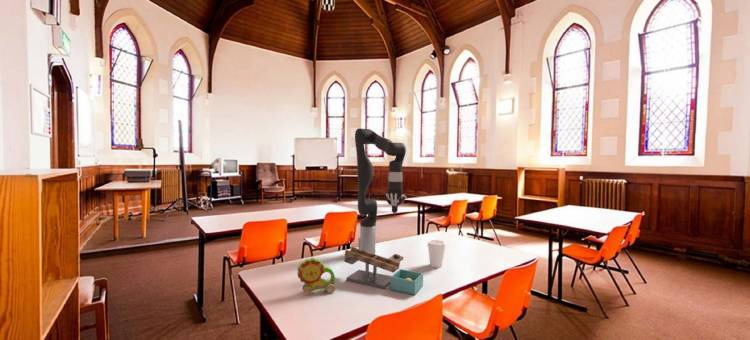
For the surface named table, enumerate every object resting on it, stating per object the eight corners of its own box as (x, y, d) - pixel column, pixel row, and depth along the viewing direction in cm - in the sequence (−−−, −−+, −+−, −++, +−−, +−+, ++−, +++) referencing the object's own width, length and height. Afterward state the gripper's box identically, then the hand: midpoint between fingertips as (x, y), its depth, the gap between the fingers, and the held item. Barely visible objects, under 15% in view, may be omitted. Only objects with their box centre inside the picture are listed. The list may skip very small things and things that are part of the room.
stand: (346, 280, 153) (346, 260, 152) (358, 272, 164) (359, 253, 163) (384, 289, 144) (385, 267, 144) (395, 280, 155) (395, 259, 154)
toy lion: (333, 288, 145) (333, 254, 144) (335, 293, 139) (335, 258, 139) (297, 291, 140) (297, 257, 140) (297, 297, 135) (297, 261, 134)
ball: (402, 279, 145) (410, 279, 143) (405, 276, 148) (413, 276, 147) (403, 288, 145) (411, 288, 143) (406, 285, 148) (414, 285, 146)
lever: (343, 261, 156) (345, 250, 156) (361, 251, 173) (363, 241, 172) (392, 279, 145) (394, 266, 145) (406, 266, 162) (408, 255, 161)
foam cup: (443, 263, 180) (444, 240, 179) (445, 269, 171) (446, 244, 170) (426, 262, 181) (427, 239, 180) (427, 268, 172) (428, 244, 171)
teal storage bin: (390, 290, 143) (391, 276, 143) (400, 281, 153) (400, 268, 153) (414, 295, 138) (415, 281, 138) (422, 285, 149) (423, 273, 148)
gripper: (381, 180, 171) (380, 212, 172) (404, 181, 165) (403, 215, 166) (386, 179, 177) (386, 210, 178) (409, 180, 172) (408, 212, 173)
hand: (394, 212), depth 172 cm, fingers closed
